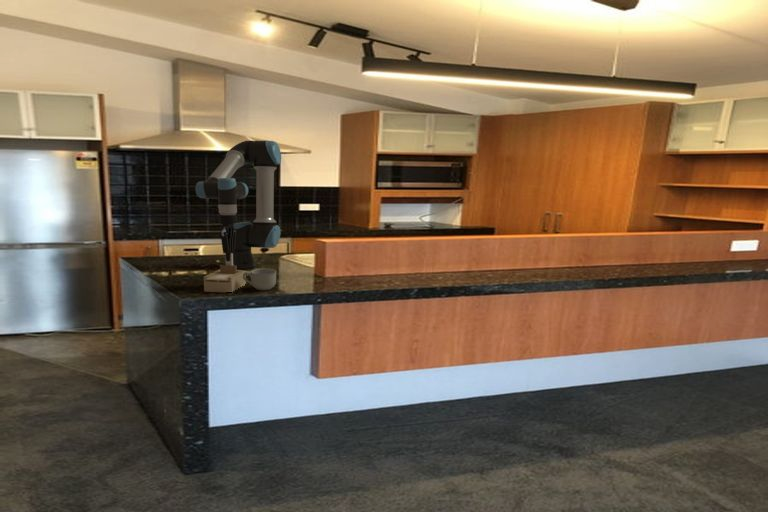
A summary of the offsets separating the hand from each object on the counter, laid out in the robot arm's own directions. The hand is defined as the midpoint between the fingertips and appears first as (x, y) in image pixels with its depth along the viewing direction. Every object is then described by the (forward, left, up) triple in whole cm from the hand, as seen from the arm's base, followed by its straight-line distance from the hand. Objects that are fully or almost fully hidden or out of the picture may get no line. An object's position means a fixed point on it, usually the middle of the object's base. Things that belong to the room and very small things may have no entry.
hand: (229, 267), depth 231 cm
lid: (+7, 0, -3) cm, 7 cm away
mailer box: (+5, 0, -8) cm, 9 cm away
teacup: (+4, +15, -8) cm, 17 cm away
